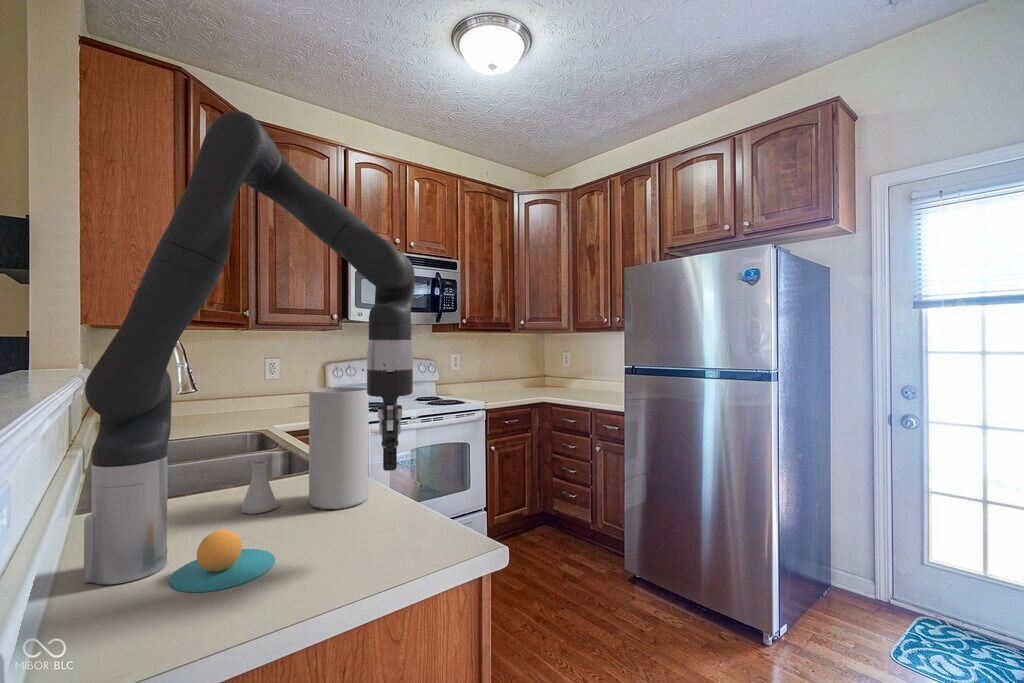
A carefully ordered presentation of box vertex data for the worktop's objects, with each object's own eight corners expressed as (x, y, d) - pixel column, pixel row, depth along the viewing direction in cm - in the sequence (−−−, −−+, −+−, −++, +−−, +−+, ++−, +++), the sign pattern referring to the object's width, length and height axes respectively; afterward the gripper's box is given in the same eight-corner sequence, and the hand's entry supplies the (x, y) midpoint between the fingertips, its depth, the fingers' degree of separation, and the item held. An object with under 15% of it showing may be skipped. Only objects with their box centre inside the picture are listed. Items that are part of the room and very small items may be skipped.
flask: (269, 501, 108) (269, 456, 108) (284, 508, 103) (284, 461, 103) (234, 509, 102) (234, 462, 102) (248, 517, 98) (249, 468, 98)
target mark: (151, 598, 67) (151, 596, 67) (191, 555, 80) (191, 553, 80) (262, 585, 70) (262, 584, 70) (283, 546, 84) (283, 545, 84)
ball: (238, 539, 73) (231, 579, 73) (249, 525, 79) (242, 562, 78) (194, 537, 71) (186, 578, 71) (208, 523, 77) (201, 561, 77)
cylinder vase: (306, 513, 100) (306, 393, 100) (311, 495, 111) (311, 388, 112) (369, 507, 104) (369, 391, 104) (367, 490, 115) (367, 386, 116)
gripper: (368, 365, 87) (368, 461, 87) (365, 369, 74) (364, 481, 74) (411, 365, 89) (410, 459, 89) (414, 368, 76) (414, 478, 76)
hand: (389, 469), depth 81 cm, fingers closed
